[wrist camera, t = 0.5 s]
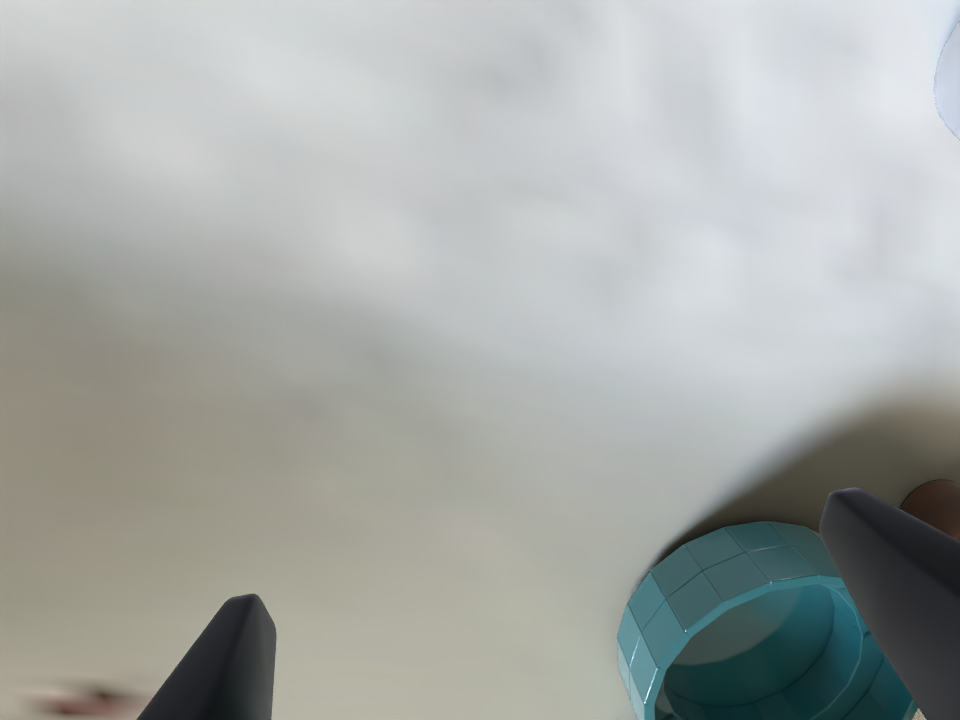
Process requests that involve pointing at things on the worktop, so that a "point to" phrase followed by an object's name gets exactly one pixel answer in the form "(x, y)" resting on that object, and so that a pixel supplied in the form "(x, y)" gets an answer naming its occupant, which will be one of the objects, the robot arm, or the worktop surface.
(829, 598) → the bowl
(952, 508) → the post
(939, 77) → the plastic bottle
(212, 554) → the worktop surface
